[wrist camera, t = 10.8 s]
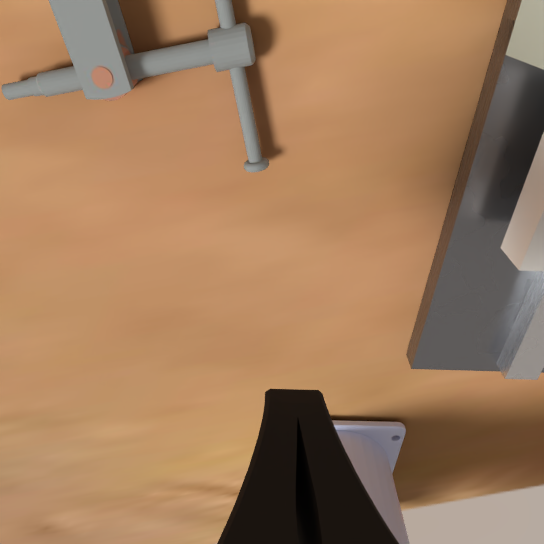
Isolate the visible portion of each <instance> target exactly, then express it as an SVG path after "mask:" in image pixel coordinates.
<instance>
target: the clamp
mask: <svg viewBox="0 0 544 544" xmlns="http://www.w3.org/2000/svg"><path fill="white" fill-rule="evenodd" d="M49 3H50V5H51V8H52V11H53V13H54V16H55V18H56V21H57V24H58V26H59V29H60V32H61V34H62V37H63V39H64V42H65V45H66V47H67V50H68V52H69V55H70V58H71V60H72V63H73V66H72V67H67V68H62V69H57V70H52V71H47V72H42V73H38V74H37V76H35V77H30V78H28V80H23V81H18V82H13V83H8V84H3V85H2V92H3V94H4V96H5V98H6V99H8V100H12V99H17V98H22V97H27V96H32V95H34V96H40V95H45V96H46V97H48V96H54V95H59V94H64V93H69V92H74V91H79V90H83V92H84V94H85V97H86V99H104V100H109V101H112V100H117V99H120V98H121V97H123V96H124V95H126V94H127V93H128V92H129V91H131V90H132V89H133V88H134V86H135V84H136V83H137V82H139V81H141V80H143V79H142V78H145V77H150V76H155V75H160V74H165V73H171V72H176V71H181V70H186V69H191V68H196V67H201V66H206V65H211V64H214V67H215V69H216V71H217V72H219V71H224V70H230V74H231V79H232V84H233V89H234V93H235V98H236V103H237V108H238V112H239V117H240V122H241V127H242V131H243V136H244V141H245V146H246V150H247V155H248V160H247V161H246V162H245V164H244V169H245V170H246V171H248V172H259V171H262V170H264V169H266V168H267V167H268V166H269V161H268V159H267V158H264V157H262V155H261V150H260V145H259V139H258V134H257V129H256V124H255V119H254V114H253V108H252V103H251V98H250V93H249V88H248V83H247V78H246V72H245V66H250V65H253V64H254V62H255V60H256V57H255V50H254V44H253V38H252V33H251V29H250V26H249V25H247V24H246V23H240V24H236V21H235V16H234V11H233V5H232V0H215V3H216V8H217V13H218V17H219V22H220V28H215V29H211V30H208V39H206V40H201V41H196V42H191V43H186V44H181V45H176V46H171V47H166V48H161V49H156V50H151V51H146V52H141V53H136V54H134V50H133V47H132V44H131V41H130V38H129V34H128V31H127V28H126V25H125V22H124V18H123V15H122V12H121V9H120V5H119V2H118V0H49Z"/></svg>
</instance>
